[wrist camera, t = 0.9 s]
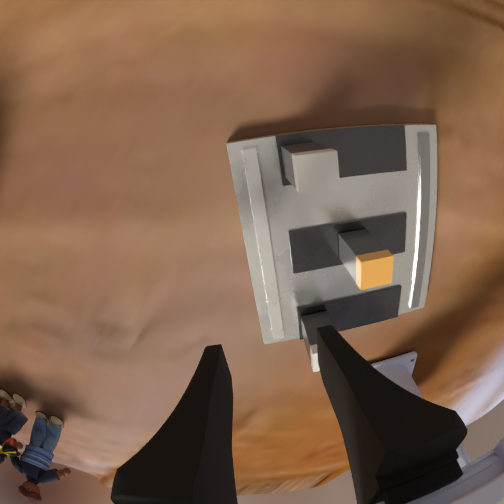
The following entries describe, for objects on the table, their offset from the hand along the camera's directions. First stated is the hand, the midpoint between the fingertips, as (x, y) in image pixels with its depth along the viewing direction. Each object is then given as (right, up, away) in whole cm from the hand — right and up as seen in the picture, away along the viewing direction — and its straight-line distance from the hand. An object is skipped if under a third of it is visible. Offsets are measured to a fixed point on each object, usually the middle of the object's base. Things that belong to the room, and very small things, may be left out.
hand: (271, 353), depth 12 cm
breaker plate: (+6, +5, +9) cm, 12 cm away
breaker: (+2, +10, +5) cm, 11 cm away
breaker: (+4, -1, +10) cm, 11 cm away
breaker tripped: (+6, +5, +8) cm, 11 cm away
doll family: (-35, -18, +17) cm, 43 cm away
